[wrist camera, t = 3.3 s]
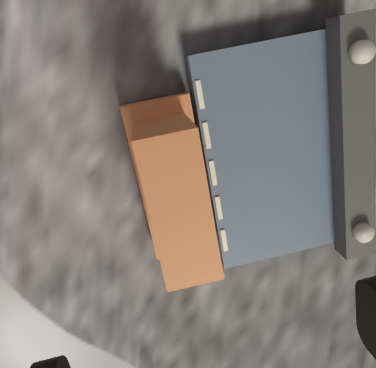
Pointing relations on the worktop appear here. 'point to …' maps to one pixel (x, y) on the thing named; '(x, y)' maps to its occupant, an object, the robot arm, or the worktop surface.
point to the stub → (174, 189)
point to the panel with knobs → (290, 140)
